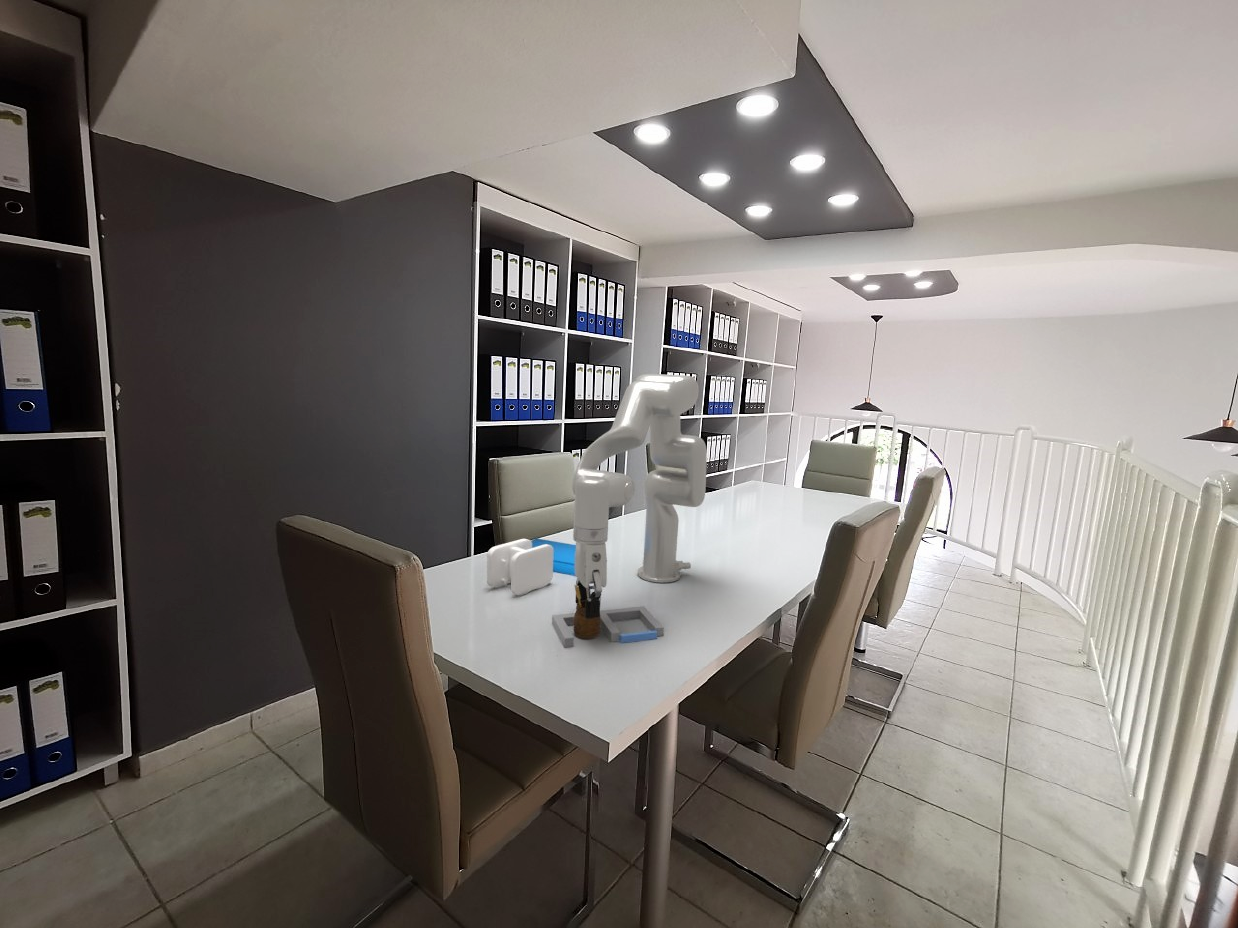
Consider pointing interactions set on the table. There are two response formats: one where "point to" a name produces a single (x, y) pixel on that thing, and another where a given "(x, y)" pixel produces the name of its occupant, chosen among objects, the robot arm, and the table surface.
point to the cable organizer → (520, 566)
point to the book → (560, 555)
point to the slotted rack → (611, 625)
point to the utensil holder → (584, 621)
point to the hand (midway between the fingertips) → (587, 609)
